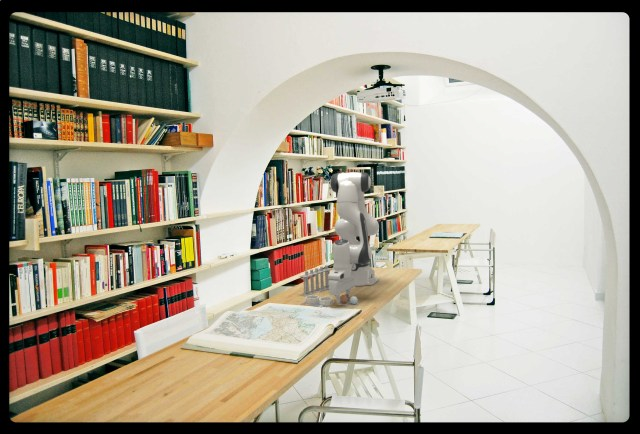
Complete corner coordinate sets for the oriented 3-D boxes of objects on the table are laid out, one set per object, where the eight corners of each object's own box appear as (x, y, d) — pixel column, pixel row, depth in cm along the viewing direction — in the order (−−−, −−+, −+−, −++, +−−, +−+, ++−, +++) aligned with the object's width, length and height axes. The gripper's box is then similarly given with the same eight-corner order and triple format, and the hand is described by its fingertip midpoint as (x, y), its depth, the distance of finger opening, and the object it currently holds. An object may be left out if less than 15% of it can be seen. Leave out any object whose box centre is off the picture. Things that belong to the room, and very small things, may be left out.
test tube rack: (306, 297, 256) (305, 272, 255) (300, 296, 259) (299, 272, 258) (333, 287, 276) (333, 264, 275) (327, 286, 279) (326, 264, 278)
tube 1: (311, 299, 249) (310, 294, 248) (322, 301, 245) (321, 296, 245) (303, 302, 243) (303, 297, 243) (314, 304, 239) (314, 299, 239)
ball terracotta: (341, 301, 243) (341, 293, 242) (348, 302, 240) (348, 294, 240) (337, 303, 239) (337, 295, 239) (344, 304, 237) (344, 296, 237)
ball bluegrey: (352, 302, 239) (352, 294, 239) (359, 303, 237) (359, 295, 237) (348, 304, 236) (348, 296, 236) (355, 305, 234) (355, 297, 234)
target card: (310, 300, 249) (310, 299, 249) (335, 303, 241) (335, 302, 241) (299, 305, 240) (299, 304, 240) (325, 308, 232) (325, 307, 232)
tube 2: (324, 301, 244) (323, 296, 244) (335, 302, 240) (335, 297, 240) (316, 304, 239) (316, 299, 238) (328, 306, 235) (328, 301, 235)
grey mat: (342, 301, 244) (342, 300, 243) (360, 303, 238) (360, 303, 238) (336, 304, 238) (336, 303, 238) (354, 307, 233) (354, 306, 233)
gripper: (347, 268, 249) (348, 294, 250) (326, 276, 232) (327, 304, 233) (357, 269, 245) (358, 295, 247) (337, 277, 228) (338, 305, 230)
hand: (343, 299), depth 240 cm, fingers open, 7 cm apart
